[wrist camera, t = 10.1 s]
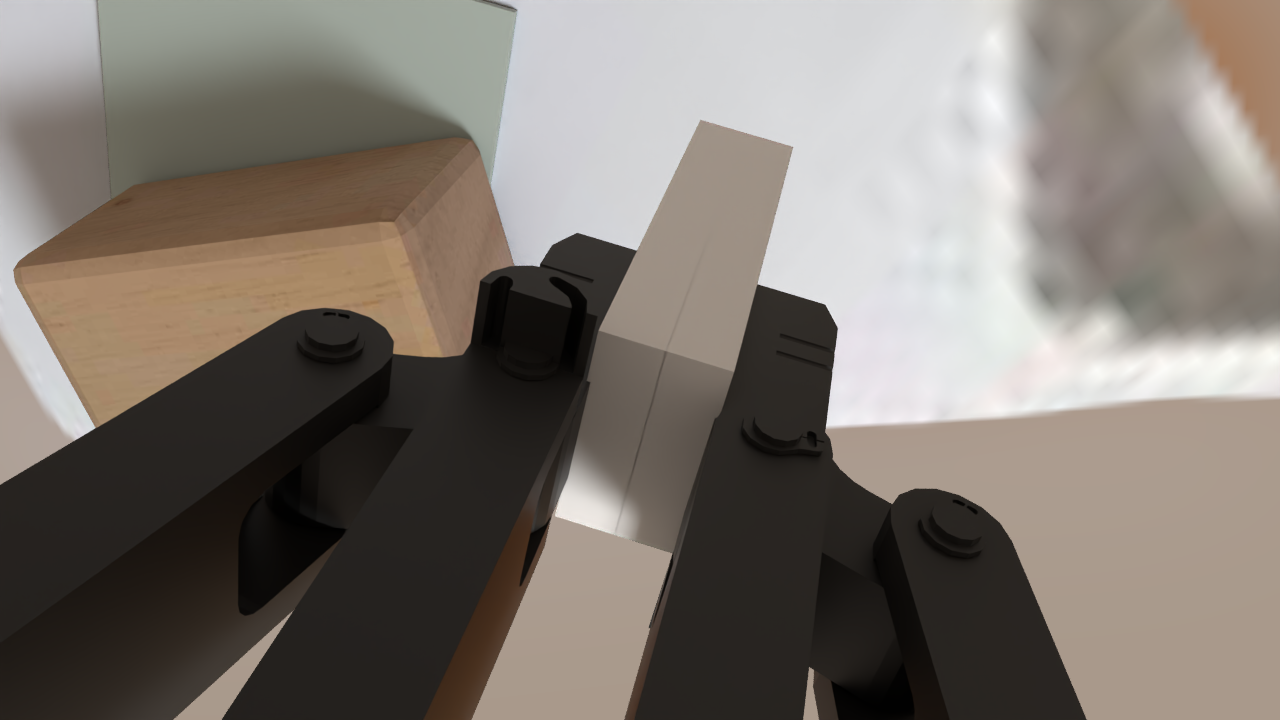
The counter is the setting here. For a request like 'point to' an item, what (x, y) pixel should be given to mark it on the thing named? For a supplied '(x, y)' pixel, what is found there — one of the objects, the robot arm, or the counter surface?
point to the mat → (294, 80)
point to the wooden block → (265, 263)
